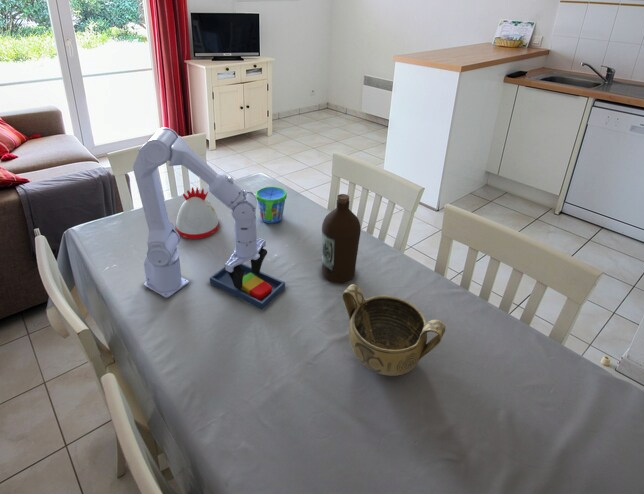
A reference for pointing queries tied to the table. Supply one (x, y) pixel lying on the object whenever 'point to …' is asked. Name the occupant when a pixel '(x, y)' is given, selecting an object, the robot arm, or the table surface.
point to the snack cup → (271, 203)
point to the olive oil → (340, 242)
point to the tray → (226, 284)
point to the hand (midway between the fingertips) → (247, 279)
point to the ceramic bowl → (388, 332)
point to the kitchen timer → (196, 216)
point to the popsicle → (255, 286)
